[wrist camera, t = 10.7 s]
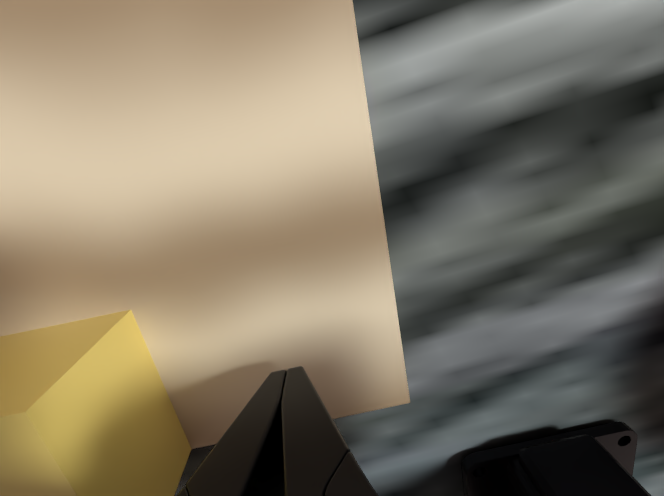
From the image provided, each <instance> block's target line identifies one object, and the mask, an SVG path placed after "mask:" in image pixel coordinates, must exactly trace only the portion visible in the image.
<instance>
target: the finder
mask: <svg viewBox="0 0 664 496" xmlns="http://www.w3.org/2000/svg"><path fill="white" fill-rule="evenodd" d="M190 452H191V447H190V444H189V442H188V440H187V438H186V435H185V433H184V431H183V428H182V426H181V424H180V421H179V419H178V417H177V414H176V412H175V410H174V408H173V405H172V403H171V401H170V398H169V396H168V394H167V391H166V389H165V387H164V384H163V382H162V380H161V378H160V375H159V373H158V371H157V368H156V366H155V364H154V361H153V359H152V357H151V355H150V352H149V350H148V348H147V345H146V343H145V341H144V338H143V336H142V334H141V331H140V329H139V327H138V325H137V322H136V320H135V318H134V315H133V313H132V311H131V310H127V311H122V312H117V313H112V314H107V315H102V316H97V317H93V318H88V319H83V320H78V321H73V322H68V323H64V324H59V325H54V326H49V327H44V328H39V329H34V330H30V331H25V332H20V333H15V334H10V335H5V336H0V496H174V495H175V492H176V490H177V487H178V484H179V481H180V479H181V476H182V473H183V471H184V468H185V465H186V463H187V460H188V457H189V454H190Z"/></svg>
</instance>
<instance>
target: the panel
mask: <svg viewBox="0 0 664 496" xmlns="http://www.w3.org/2000/svg"><path fill="white" fill-rule="evenodd" d="M127 310H131V311H132V313H133V315H134V318H135V320H136V322H137V325H138V327H139V329H140V331H141V334H142V336H143V338H144V341H145V343H146V345H147V348H148V350H149V352H150V355H151V357H152V359H153V361H154V364H155V366H156V368H157V371H158V373H159V375H160V378H161V380H162V382H163V384H164V387H165V389H166V391H167V394H168V396H169V398H170V401H171V403H172V405H173V408H174V410H175V412H176V414H177V417H178V419H179V421H180V424H181V426H182V428H183V431H184V433H185V435H186V438H187V440H188V442H189V444H190V447H191V449H194V448H199V447H203V446H208V445H213V444H217V442H218V441H219V440H220V439H221V437H222V436H223V435H224V433H225V432H226V431H227V429H228V428H229V427H230V425H231V424H232V423H233V421H234V420H235V419H236V417H237V416H238V415H239V414H240V412H241V411H242V410H243V408H244V407H245V406H246V404H247V403H248V402H249V400H250V399H251V398H252V396H253V395H254V394H255V392H256V391H257V390H258V389H259V387H260V386H261V385H262V383H263V382H264V381H265V379H266V378H267V377H268V375H269V374H270V373H271V372H274V371H279V370H286V371H287V370H288V369H289V368H293V367H298V366H302V367H303V368H304V370H305V371H306V373H307V375H308V377H309V378H310V380H311V382H312V384H313V386H314V387H315V389H316V391H317V393H318V394H319V396H320V398H321V400H322V401H323V403H324V405H325V407H326V409H327V410H328V412H329V414H330V416H331V417H332V419H335V418H340V417H345V416H349V415H354V414H359V413H364V412H368V411H373V410H378V409H382V408H387V407H392V406H397V405H401V404H406V403H410V398H409V391H408V384H407V377H406V370H405V363H404V356H403V349H402V342H401V335H400V328H399V321H398V314H397V307H396V301H395V294H394V287H393V280H392V273H391V266H390V259H389V252H388V245H387V238H386V231H385V224H384V217H383V210H382V203H381V196H380V189H379V182H378V175H377V168H376V162H375V155H374V148H373V141H372V134H371V127H370V120H369V113H368V106H367V99H366V92H365V85H364V78H363V71H362V64H361V57H360V50H359V43H358V36H357V29H356V22H355V16H354V9H353V2H352V0H0V336H5V335H10V334H15V333H20V332H25V331H30V330H34V329H39V328H44V327H49V326H54V325H59V324H64V323H68V322H73V321H78V320H83V319H88V318H93V317H97V316H102V315H107V314H112V313H117V312H122V311H127Z"/></svg>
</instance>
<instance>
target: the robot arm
mask: <svg viewBox="0 0 664 496" xmlns="http://www.w3.org/2000/svg"><path fill="white" fill-rule="evenodd" d="M636 445H637V434H636V433H635V432H634V431H633V430H632V429H631V428H630V427H629V426H627V425H626V424H625V423H623V422H614V423H609V424H604V425H600V426H595V427H591V428H586V429H581V430H577V431H572V432H567V433H563V434H558V435H553V436H549V437H544V438H539V439H535V440H530V441H525V442H521V443H516V444H511V445H507V446H502V447H497V448H493V449H488V450H483V451H479V452H474V453H471V454H469V455H467V456H466V457H465V458H464V459H463V461H462V475H463V487H464V496H651V495H650V494H649V493H648V492H647V491H646V490H645V489H644V488H643V487H642V486H641V485H640V484H639V483H638V481H637V480H636V479H635V478H634V477H633V476H632V474H633V467H634V460H635V452H636ZM177 496H379V495H378V494H377V493H376V491H375V490H374V489H373V487H372V486H371V484H370V483H369V481H368V479H367V478H366V476H365V475H364V473H363V471H362V470H361V468H360V467H359V465H358V463H357V461H356V460H355V458H354V456H353V454H352V453H351V452H350V449H349V448H348V446H347V444H346V442H345V440H344V439H343V437H342V435H341V433H340V432H339V430H338V428H337V426H336V425H335V423H334V421H333V419H332V417H331V416H330V414H329V412H328V410H327V409H326V407H325V405H324V403H323V401H322V400H321V398H320V396H319V394H318V393H317V391H316V389H315V387H314V386H313V384H312V382H311V380H310V378H309V377H308V375H307V373H306V371H305V370H304V368H303V367H302V366H298V367H293V368H289V369H288V370H287V371H286V370H279V371H274V372H271V373H270V374H269V375H268V377H267V378H266V379H265V381H264V382H263V383H262V385H261V386H260V387H259V389H258V390H257V391H256V392H255V394H254V395H253V396H252V398H251V399H250V400H249V402H248V403H247V404H246V406H245V407H244V408H243V410H242V411H241V412H240V414H239V415H238V416H237V417H236V419H235V420H234V421H233V423H232V424H231V425H230V427H229V428H228V429H227V431H226V432H225V433H224V435H223V436H222V437H221V439H220V440H219V441H218V442H217V444H216V445H215V446H214V448H213V449H212V450H211V452H210V453H209V454H208V456H207V457H206V458H205V460H204V461H203V462H202V464H201V465H200V466H199V467H198V469H197V470H196V471H195V473H194V474H193V475H192V477H191V478H190V479H189V481H188V482H187V483H186V487H184V488H182V490H181V491H180V492H179V494H178V495H177Z"/></svg>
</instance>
